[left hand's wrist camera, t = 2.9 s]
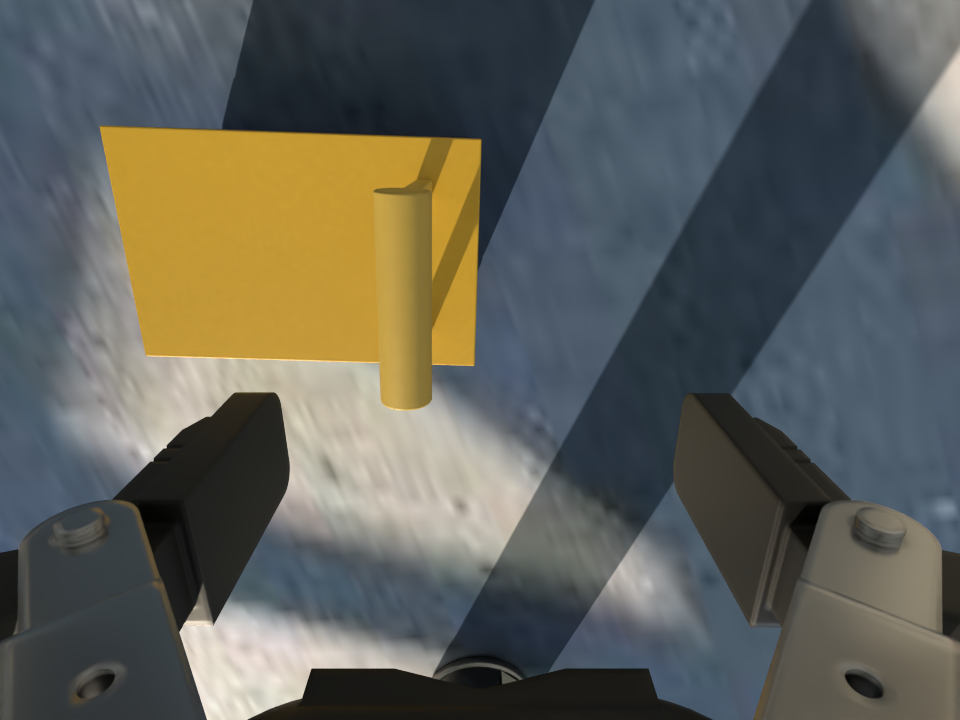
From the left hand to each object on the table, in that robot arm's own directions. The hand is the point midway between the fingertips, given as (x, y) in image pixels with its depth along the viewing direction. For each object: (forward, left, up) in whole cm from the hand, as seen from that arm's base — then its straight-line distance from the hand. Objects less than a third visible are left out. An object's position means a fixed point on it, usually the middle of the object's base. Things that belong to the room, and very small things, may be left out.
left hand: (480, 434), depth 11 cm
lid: (-5, +6, -16) cm, 18 cm away
